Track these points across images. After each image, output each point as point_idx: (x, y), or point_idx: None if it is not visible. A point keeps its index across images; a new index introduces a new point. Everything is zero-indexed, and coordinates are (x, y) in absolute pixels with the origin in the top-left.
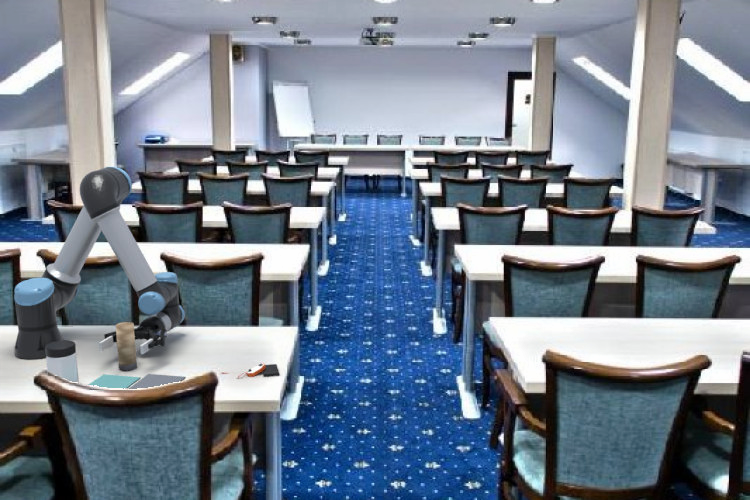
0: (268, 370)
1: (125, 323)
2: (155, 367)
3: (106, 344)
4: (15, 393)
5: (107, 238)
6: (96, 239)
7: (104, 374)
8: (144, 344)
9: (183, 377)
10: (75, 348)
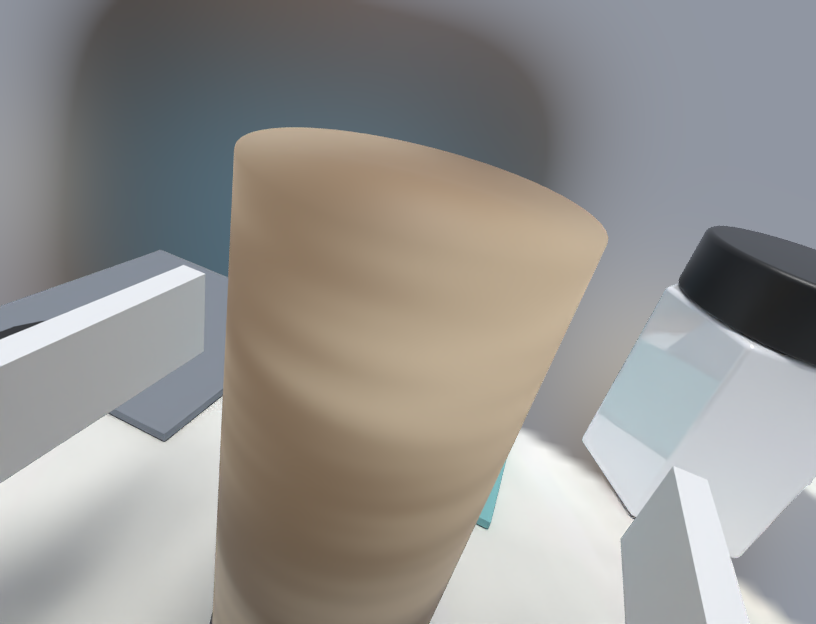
0: None
1: (427, 203)
2: (18, 597)
3: (654, 607)
4: None
5: None
6: None
7: (483, 515)
8: (149, 279)
9: None
10: (707, 279)
